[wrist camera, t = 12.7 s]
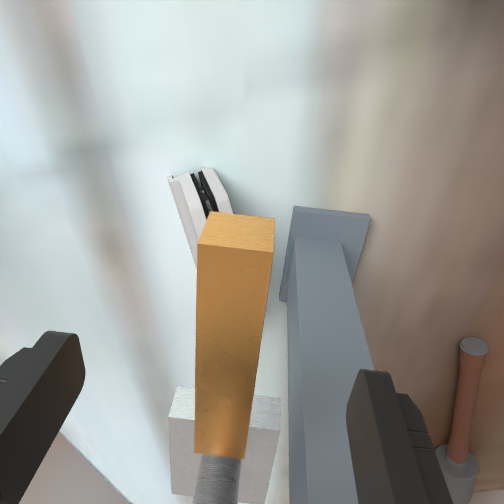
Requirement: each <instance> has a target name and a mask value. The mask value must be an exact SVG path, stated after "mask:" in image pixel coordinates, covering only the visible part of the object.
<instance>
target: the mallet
mask: <svg viewBox="0 0 504 504" xmlns="http://www.w3.org/2000/svg"><path fill="white" fill-rule="evenodd" d="M459 345H460V356H459V362H460V372H459V379H458V386H457V394H456V401H455V408H454V415H453V423H452V430H451V436H450V439H449V442H448V444H441V445H439V446H438V447H437V448H436V449H435V452H434V453H436V456H437V459H438V462H439V465H440V467H441V470H442V473H443V476H444V479H445V482H446V484H447V487H448V490H449V493H450V496H451V499H452V501H453V504H468V503H469V502H470V500H471V498H472V494H473V489H474V484H475V479H476V476H477V475H478V472H479V464H478V461H477V459H476V458H475V456H474V455H473V454H472V453H471V452H470V451H469V437H470V431H471V425H472V419H473V413H474V408H475V402H476V396H477V390H478V384H479V379H480V373H481V370H482V368H483V365H484V363H485V358H486V353H487V352H488V350H489V349H488V346H487V344H486V343H485V342H484V341H483V340H481V339H479V338H476V337H466V338H463V339H462V340H461V341H460V344H459Z"/></svg>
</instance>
